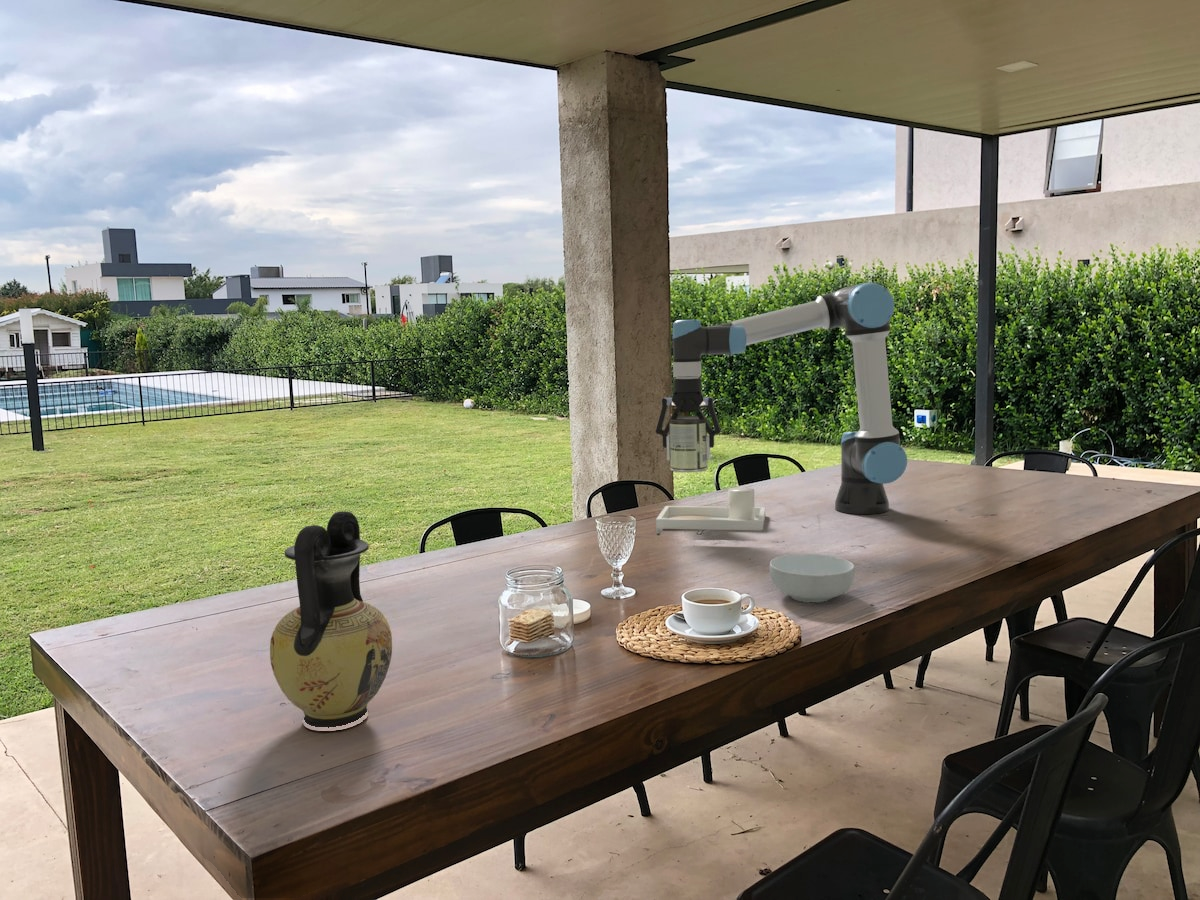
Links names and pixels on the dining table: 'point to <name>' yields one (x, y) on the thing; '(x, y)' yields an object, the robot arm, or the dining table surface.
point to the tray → (705, 519)
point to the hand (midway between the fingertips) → (688, 459)
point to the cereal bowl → (811, 576)
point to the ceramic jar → (741, 503)
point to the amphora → (330, 629)
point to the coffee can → (688, 444)
